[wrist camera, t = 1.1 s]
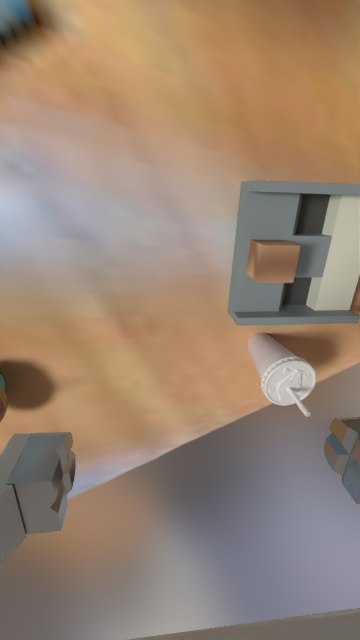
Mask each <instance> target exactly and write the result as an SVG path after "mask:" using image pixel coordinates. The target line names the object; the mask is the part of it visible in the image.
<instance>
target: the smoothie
mask: <svg viewBox="0 0 360 640" xmlns="http://www.w3.org/2000/svg"><path fill="white" fill-rule="evenodd" d="M248 350H249V352H250V355H251V357H252V360H253V362H254V365H255V367H256V370H257V372H258V374H259V377H260V380H261V387H262V391H263V393H264V394H265V395H266V397H267V398H268V400H270V401H271V402H272V403H274V404H278V405H291V404H294V403H297V405H298V406H299V408H300V409H301V410H302V412H303V413H304V414H305V416H309V415H310V412H309V411H308V410H307V408H306V407H305V406H304V404H303V403H302V402H301V400H303V399H304V398H305V397H306V396H308V395H309V394H310V392H311V391H312V390H313V388H314V386H315V383H316V372H315V370H314V368H313V367H312V366H311V364H310V363H309V362H308V361H307V360H305V359H303V358H301V357H297V356H296V355H294V354H293V353H292V352H290V351H289V350H288V349H286V348H285V347H284V346H282V345H281V344H280V343H278V342H277V341H276V340H275V339H273V338H272V337H271V336H269V335H268V334H266V333H258V334H256V335H254V336H253V337H252V338H251V339H250V340H249V342H248Z"/></svg>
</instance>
